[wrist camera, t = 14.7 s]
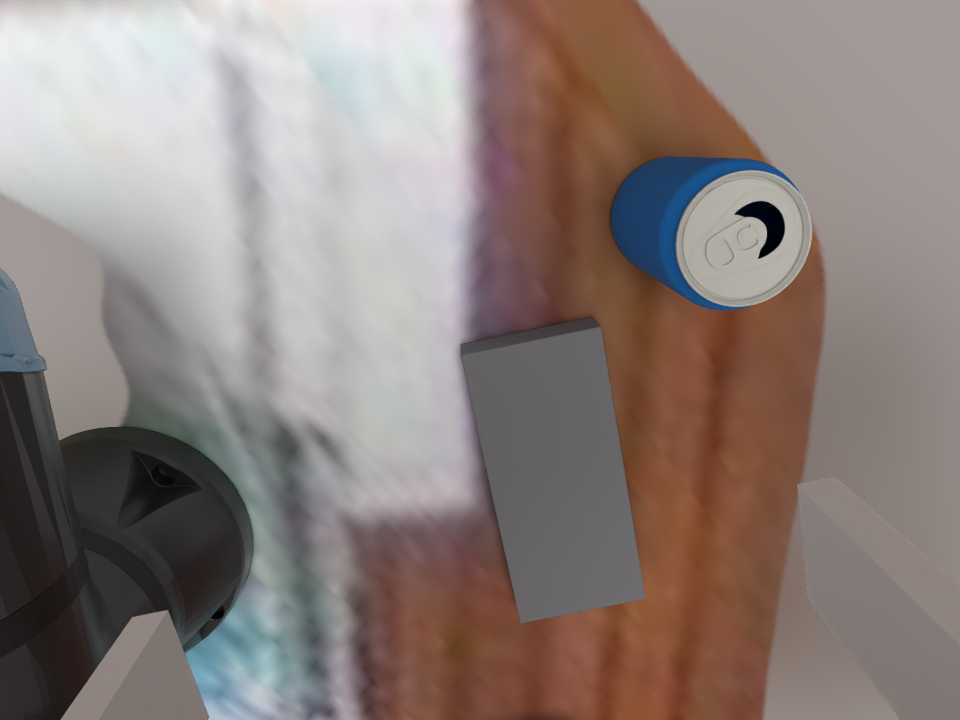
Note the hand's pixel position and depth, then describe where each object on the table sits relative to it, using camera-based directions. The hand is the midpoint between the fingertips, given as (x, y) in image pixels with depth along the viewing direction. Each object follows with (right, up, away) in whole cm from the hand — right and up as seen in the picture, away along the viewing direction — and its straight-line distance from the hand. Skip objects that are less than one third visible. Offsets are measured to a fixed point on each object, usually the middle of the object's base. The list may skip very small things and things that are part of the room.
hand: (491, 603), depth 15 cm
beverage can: (+10, +13, +27) cm, 31 cm away
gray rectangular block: (+4, -2, +31) cm, 31 cm away
